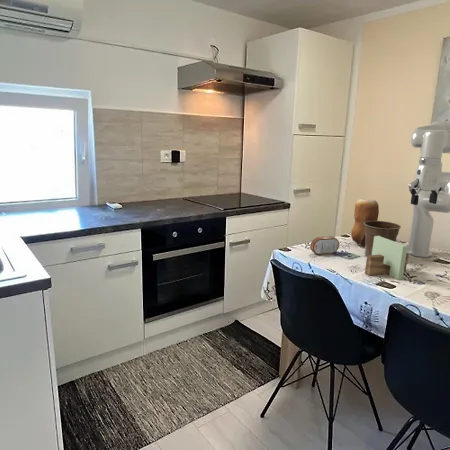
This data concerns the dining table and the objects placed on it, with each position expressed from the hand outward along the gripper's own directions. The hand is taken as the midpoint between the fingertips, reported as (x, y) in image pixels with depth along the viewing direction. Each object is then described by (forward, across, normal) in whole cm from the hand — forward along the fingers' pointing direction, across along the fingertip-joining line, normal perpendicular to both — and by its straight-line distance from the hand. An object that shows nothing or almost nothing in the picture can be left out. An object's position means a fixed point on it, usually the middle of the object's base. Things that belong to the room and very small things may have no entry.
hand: (423, 203), depth 153 cm
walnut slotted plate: (+29, -13, +1) cm, 32 cm away
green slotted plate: (+29, -13, +1) cm, 32 cm away
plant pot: (+30, -1, +20) cm, 37 cm away
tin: (+30, -24, +31) cm, 49 cm away
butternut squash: (+31, +4, +38) cm, 49 cm away
